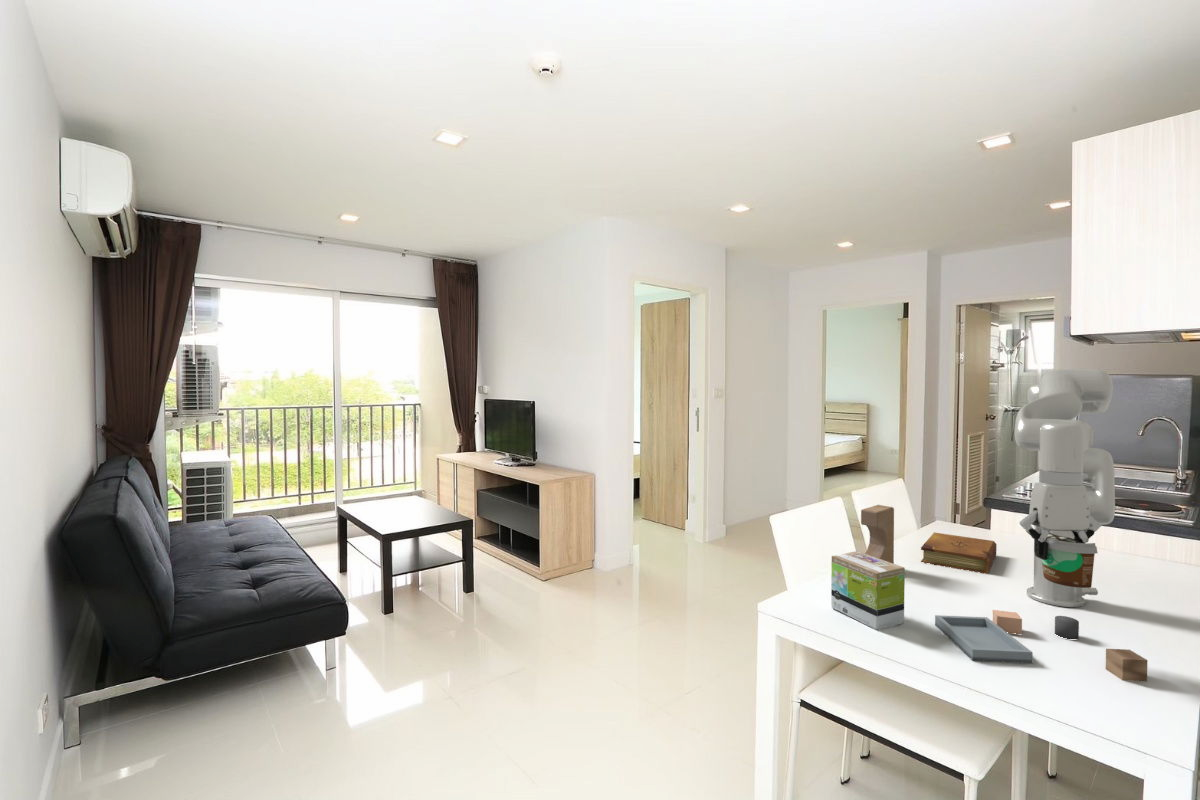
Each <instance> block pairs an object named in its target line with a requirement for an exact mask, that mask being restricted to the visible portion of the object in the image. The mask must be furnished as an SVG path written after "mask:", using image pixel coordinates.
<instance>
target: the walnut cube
mask: <svg viewBox="0 0 1200 800" xmlns="http://www.w3.org/2000/svg"><path fill="white" fill-rule="evenodd" d="M1105 670H1106V671H1107V672H1109V673H1110V674H1112V675H1113V676H1115V677H1117V678H1118V679H1120V680H1121V681H1126V682H1127V681H1129V682H1148V659H1146V658H1145V657H1143V656H1141V655H1140V654H1139V653H1136V652H1135V651H1132V650H1131V649H1125V648H1123V649H1120V648H1105Z"/></svg>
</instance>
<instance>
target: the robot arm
mask: <svg viewBox="0 0 1200 800" xmlns="http://www.w3.org/2000/svg"><path fill="white" fill-rule="evenodd" d="M1113 392H1114V384H1113V379H1112V377H1111V376H1110V374H1109V373H1108V372H1106V371H1105V370H1103V369H1099V368H1085V369H1083V368H1080V369H1079V368H1077V369H1076V368H1075V369H1074V368H1072V369H1071V368H1070V369H1055V370H1051V371H1047V372H1046V373H1045V374H1043V376H1042V377H1041V378H1040V380H1039V383H1036V384H1033V385H1032V386H1030V387H1029V388H1028V390H1027V394H1026V395H1027V402H1028V403H1026V404H1024V405H1023V406H1022V407H1021V408H1020V409H1019V410H1018V412H1017V414H1016V417H1015V424H1014V432H1013V433H1014V439H1015V440H1014V441H1015V443H1016V445H1017V446H1018V447H1019V448H1020V449H1023V450H1027V451H1035V452H1037V451H1038V452H1037V453H1038V455H1037V456H1038V457H1037V459H1038V461H1037V462H1038V463H1037V465H1038V472H1039V473H1038V475H1039V476H1038V478H1039V479H1038V482H1034V485H1033V488H1032V490H1031V494H1030V501H1029V502H1030V503H1029V511H1028V512H1029V513H1028V515H1027V516H1025V517H1024V518H1022V520H1020V521H1019V525H1020V526H1021V527H1022V529H1024V530H1025V532H1026V533H1027V534H1028V535H1029V536H1030V537H1031V538H1032V539H1033V541H1034V542H1033V552H1034V553H1033V586H1030V587H1028V588H1026V595H1028V597H1030V598H1031V599H1033V600H1035V601H1038V602H1040V603H1044V604H1046V605H1047V604H1048V605H1052V606H1057V607H1063V608H1067V607H1068V608H1080V607H1084V605H1085V604H1086V599H1085V598H1084V597H1085V596H1086V595H1089V596H1097V595H1098V594H1099V591H1098V589H1097V587H1091V588H1078V587H1070V586H1064V585H1060V584H1056V583H1053V582H1050V581H1048V580H1047V579H1045V578H1044V575H1043V566H1042V560H1047V559H1048V543H1047V542H1045V539H1046V537H1047V536H1048V534H1049V533H1051V534H1054V535H1058V536H1062V537H1069V538H1072V539H1074V540H1076V541H1078V542H1080V543H1089V541H1090V540H1089V539H1091V537H1093V536H1094V534H1095V533H1096V532H1097V531H1098V530H1099V529H1100V528H1101V527H1102V526H1103V525H1109V524H1111V523H1112V522H1113V521H1114V518H1115V513H1116V496H1115V495H1116V494H1115V493H1116V491H1115V489H1116V488H1115V485H1116V483H1115V480H1116V479H1115V464H1114V459H1113V457H1112V454H1111V453H1110V452H1109V451H1107V450H1105V449H1102V448H1098V447H1097V448H1095V447H1091V446H1093V444H1094V439H1095V437H1094V436H1095V435H1094V430H1093V428H1092V427H1091V426H1090V424H1089V423H1087V422H1086V421H1084V420H1078V419H1075V418H1076V417H1078V416H1079V415H1080V414H1089V415H1091V414H1093V415H1095V414H1102V413H1105V412H1106V411H1107V410H1108V408H1109V407H1110V403H1111V400H1112V397H1113V394H1114V393H1113ZM1084 483H1085V484H1088V485H1090V486H1091V487H1086V485H1084Z"/></svg>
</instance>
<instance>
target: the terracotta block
mask: <svg viewBox="0 0 1200 800" xmlns="http://www.w3.org/2000/svg"><path fill="white" fill-rule="evenodd" d="M992 621H993V622H994V623H995V624H996V625H998V626H999V627H1000V628H1002V629H1003V630H1004V631H1006V632H1008V634H1009V633H1016V634H1015V635H1017V634H1023V618H1022V617H1021V616H1020V614H1019V613H1018V612H1016V611H1015V612H1014V611H1005V610H999V609H992Z"/></svg>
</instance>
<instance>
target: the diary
mask: <svg viewBox="0 0 1200 800" xmlns="http://www.w3.org/2000/svg"><path fill="white" fill-rule="evenodd" d="M920 550H921V551H923V552H922V553H923V558H922V559H921V561H920V563H921V562H924V563H923V564H927V563H930V564H929V565H933V564H935V565H934V566H939V565H940V567H944V566H945V568H950V567H951V569H956V570H961V569H963V571H967V570H969V571H968V572H973V571H974V573H978V572H980V573H979V574H984V573H985V574H986V575H988V574H989V573H990V571H991V568H992V566H993V564H994V561H995V559H996V556H997V543H996V542H995V541H994V540H989V539H982V538H978V537H977V538H975V537H969V536H961V535H955V534H950V533H949V534H948V533H947V534H946V533H940V532H933V533H932V534H931V535H930V537H929V538H928V539H927V540H926V541H925V542H924V543H923V544H922V546H921V547H920ZM985 574H984V575H985Z"/></svg>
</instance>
